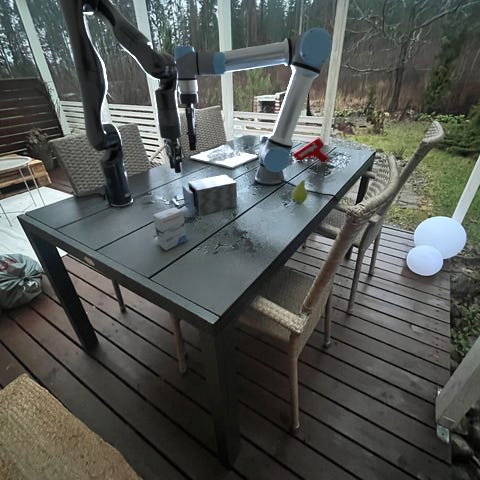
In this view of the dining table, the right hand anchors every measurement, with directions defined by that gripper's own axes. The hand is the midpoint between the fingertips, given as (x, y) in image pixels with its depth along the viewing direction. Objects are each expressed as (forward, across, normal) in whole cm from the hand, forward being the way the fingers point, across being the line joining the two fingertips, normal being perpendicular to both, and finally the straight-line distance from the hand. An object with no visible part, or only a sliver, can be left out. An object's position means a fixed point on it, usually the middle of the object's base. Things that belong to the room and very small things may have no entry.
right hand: (193, 146), depth 121 cm
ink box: (+21, +46, -8) cm, 51 cm away
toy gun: (+22, -38, +70) cm, 82 cm away
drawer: (+20, +20, +1) cm, 29 cm away
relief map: (+22, -54, +16) cm, 61 cm away
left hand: (+3, +23, -6) cm, 24 cm away
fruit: (+22, +19, +45) cm, 54 cm away
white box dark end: (+21, +18, +7) cm, 29 cm away
